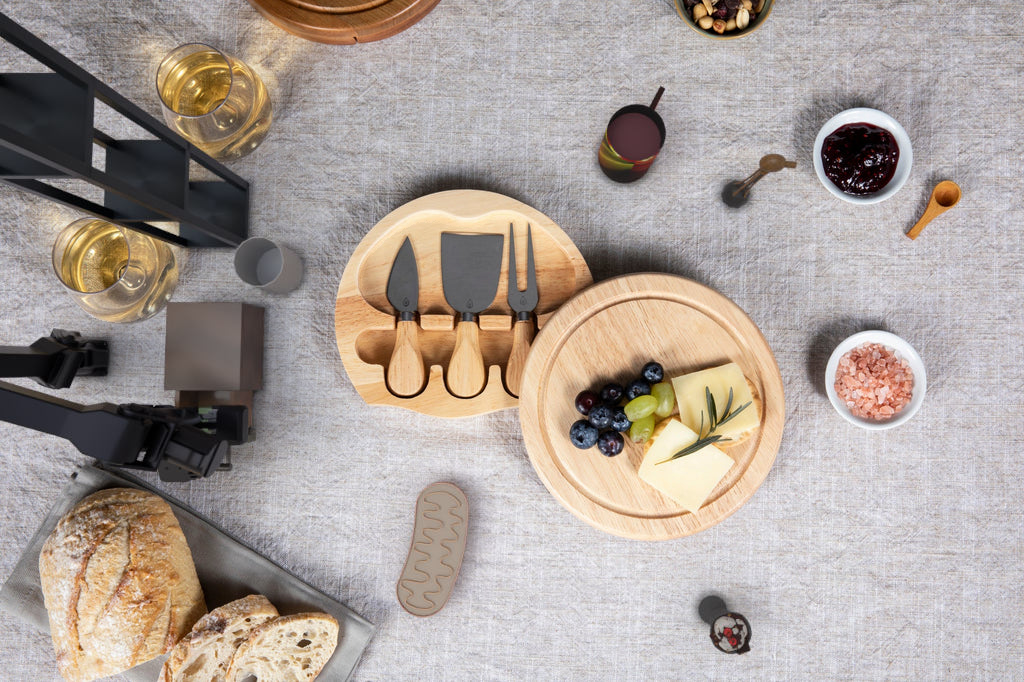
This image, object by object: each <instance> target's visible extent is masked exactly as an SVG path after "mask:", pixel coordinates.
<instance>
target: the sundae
mask: <svg viewBox="0 0 1024 682" xmlns="http://www.w3.org/2000/svg"><path fill="white" fill-rule="evenodd" d="M698 615H699V617H700V619H701V620H702V621H703V622H704V623H706V624H708V625H709V635H708V636H709V637H708V638H710V641H711V643H712V645H713V647H715V648H716V649H717V651H720V652H721V653H724V654H728V655H736V654H737V655H738V656H741V655H744V654H747V653H749V652H751V646H750V642H751V640H752V637H753V632H752V631H753V630H752V627H751V624H750V622H749V620H748V619H747V617H746V616H744V614H742V613H741V612H737V611H729V610H728V607H727V604H726V602H725V601H724V599H722V598H721V597H720V596H717V595H707V596H705V597H704V598H702V599H701V601H700V603H699V605H698Z"/></svg>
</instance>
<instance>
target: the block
mask: <svg viewBox="0 0 1024 682" xmlns="http://www.w3.org/2000/svg"><path fill="white" fill-rule="evenodd" d="M210 410H212V406H207V407H199V414H207V413H208V412H209V411H210ZM202 422H208V420H205V419H204V420H202ZM201 430H204V431H205V432H208V433H210V434H211V431H208V429H201Z"/></svg>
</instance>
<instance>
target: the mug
mask: <svg viewBox="0 0 1024 682" xmlns="http://www.w3.org/2000/svg"><path fill="white" fill-rule="evenodd" d="M665 91H666V88H665V87H664V86H662V85H660V86H659V88H658V90H657V91H656V93H655V95H654V97H653V99H652V100H651V102H650V104H649V106H648V105H645V104H641V103H631V104H627V105H624V106H621V108H619V109H618V110H617V111H615V112H614V113H613V114H612V116H611V117H610V119H609V120H608V122H607V126H606V129H605V131H604V135H603V137H602V141H601V143H600V147H599V149H598V154H597V160H598V165H599V168H600V170H601V171H602V173H603V174H604V175H605V176H606V177H607V178H608V179H609V180H611V181H613V182H615V183H618V184H631V183H635V182H637V181H639V180H641V179H642V178H643V177H644V176H645V175H646V174H647V173H648V171H649V169H650V168H651V166H652V165H653V163H654V162H655V160H656V158H657V157H658V155H659V153H660V152H661V150H662V148H663V147H664V145H665V143H666V139H667V128H666V124H665V122H664V120H663V118H662V116H661V115H660V113H658V112H657V111H656V109H657V107H658V105H659V103H660V101H661V99H662V98H663V97H662V96H663V95H664V93H665Z"/></svg>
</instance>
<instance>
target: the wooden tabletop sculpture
mask: <svg viewBox="0 0 1024 682" xmlns="http://www.w3.org/2000/svg"><path fill="white" fill-rule="evenodd" d="M758 165H759V166H758V167H759V168H757V170H755V171H754V172H753V173H751V174H750V175H749V176H748V177H746V178H744V179H743V180H735V179H734V180H732V181H730V182H728V183H727V184H725V185H724V187H723V188H722V190H721V192H720V194H721V200H722V202H723V203H724V204H725V205H726V206H727V207H728V208H732V209H739V208H741V207H742V206H744V205H746V204H747V203H748V201H749V200H750V196H751V189H752V188H753V187H754V186H755V185H756V184H757V183H758V182H759V181H760V180H762V179H763V178H764V177H765V176H766V175H769V174H770V173H778V172H781V171H783V169H796V168H797V165H798V161H796V160H795V161H794V160H787V159H786V157H785V156H784V155H782V154H780V153H768V154H765V155H763V156H762V157H760V159H759V161H758Z"/></svg>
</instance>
